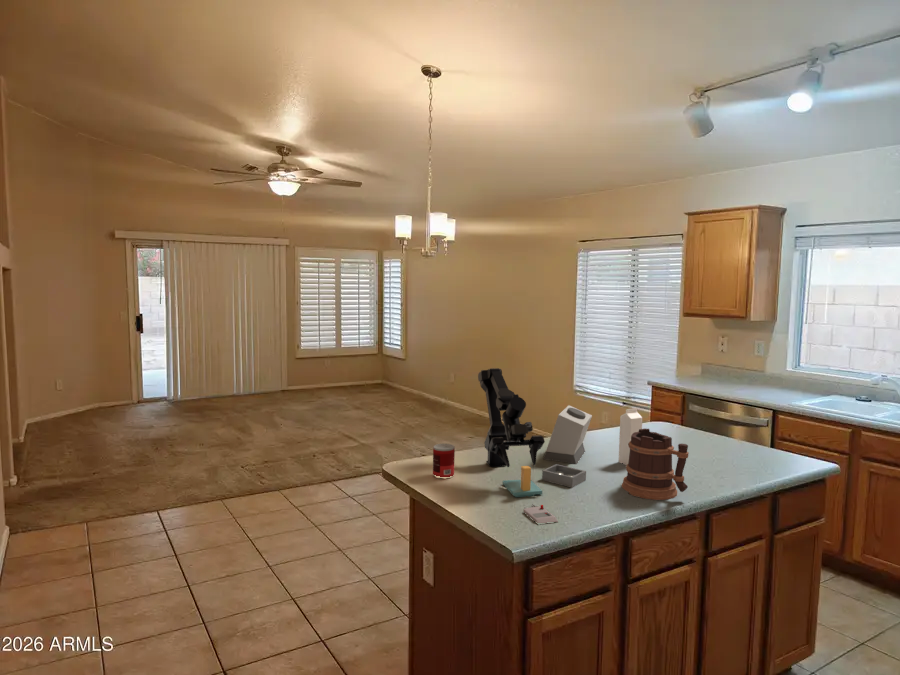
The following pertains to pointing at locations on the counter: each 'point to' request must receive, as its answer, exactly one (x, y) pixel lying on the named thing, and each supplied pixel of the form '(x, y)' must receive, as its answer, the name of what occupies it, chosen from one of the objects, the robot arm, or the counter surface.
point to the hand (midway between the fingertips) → (521, 465)
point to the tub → (563, 479)
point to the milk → (628, 432)
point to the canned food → (443, 460)
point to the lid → (523, 484)
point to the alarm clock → (568, 436)
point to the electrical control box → (540, 514)
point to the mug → (654, 466)
